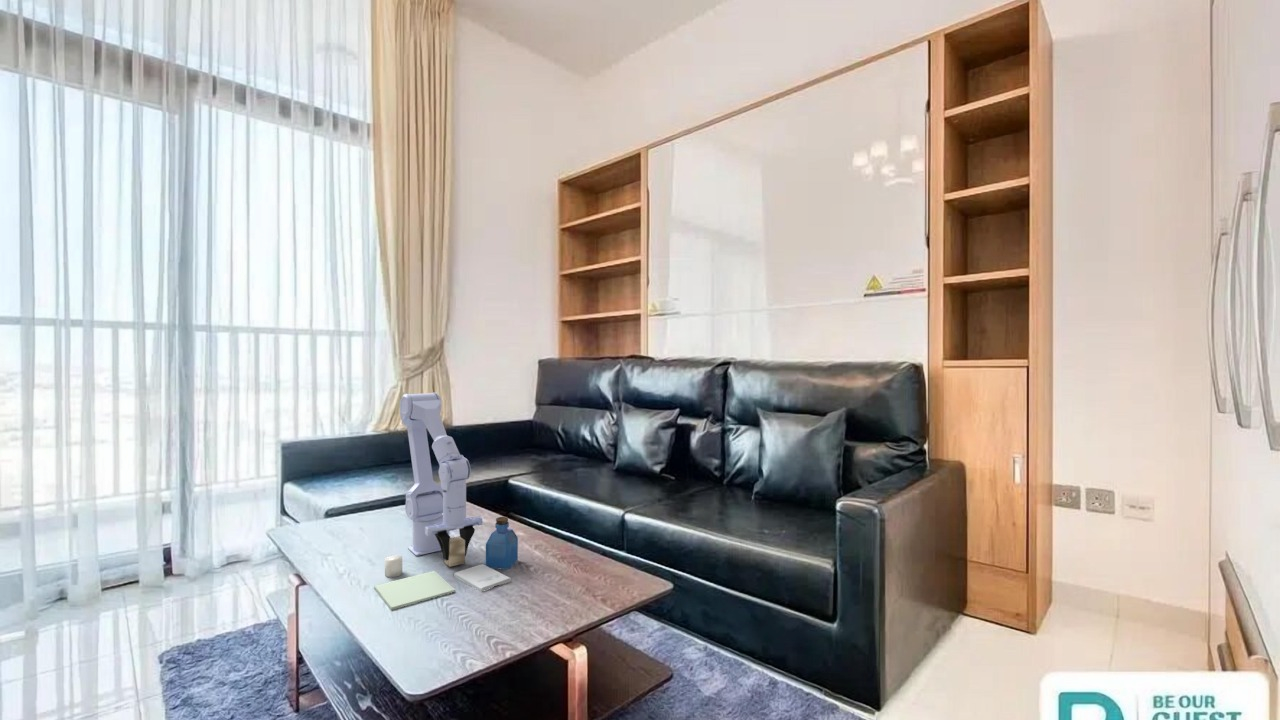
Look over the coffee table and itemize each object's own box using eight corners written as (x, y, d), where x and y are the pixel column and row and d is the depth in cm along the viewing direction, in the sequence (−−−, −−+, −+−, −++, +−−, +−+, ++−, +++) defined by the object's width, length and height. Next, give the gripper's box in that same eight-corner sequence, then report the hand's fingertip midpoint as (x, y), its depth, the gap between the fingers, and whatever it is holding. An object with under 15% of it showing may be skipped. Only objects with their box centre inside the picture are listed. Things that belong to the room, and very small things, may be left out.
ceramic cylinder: (399, 569, 140) (399, 553, 140) (404, 574, 137) (404, 558, 137) (382, 573, 138) (382, 557, 138) (387, 578, 135) (387, 562, 135)
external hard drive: (483, 569, 142) (511, 583, 133) (454, 579, 136) (481, 594, 127) (483, 563, 142) (511, 577, 133) (454, 572, 136) (481, 587, 127)
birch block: (459, 558, 146) (459, 536, 146) (464, 563, 143) (465, 540, 143) (444, 562, 144) (444, 539, 143) (449, 566, 140) (449, 543, 140)
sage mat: (434, 573, 138) (434, 570, 138) (455, 592, 127) (455, 589, 127) (374, 588, 129) (374, 585, 129) (391, 610, 118) (391, 607, 118)
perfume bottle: (485, 567, 142) (485, 521, 142) (495, 558, 148) (495, 514, 148) (508, 569, 141) (508, 523, 140) (517, 560, 147) (517, 515, 147)
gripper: (431, 514, 135) (431, 568, 136) (487, 504, 145) (487, 555, 145) (422, 507, 141) (422, 560, 141) (476, 498, 150) (476, 547, 150)
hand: (454, 557), depth 143 cm, fingers closed on birch block, 4 cm apart
